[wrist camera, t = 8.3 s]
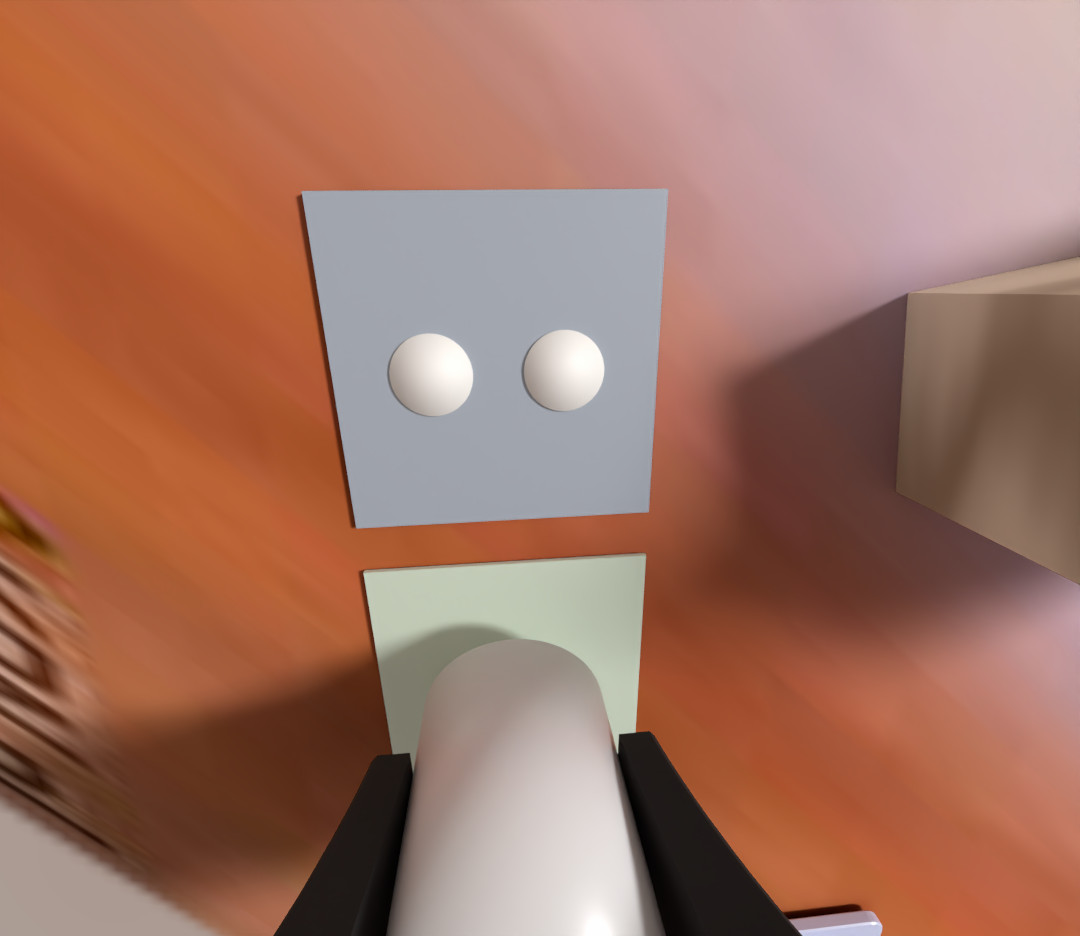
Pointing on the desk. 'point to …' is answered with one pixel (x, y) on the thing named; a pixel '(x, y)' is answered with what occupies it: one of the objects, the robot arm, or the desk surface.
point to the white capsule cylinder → (520, 806)
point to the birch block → (997, 409)
